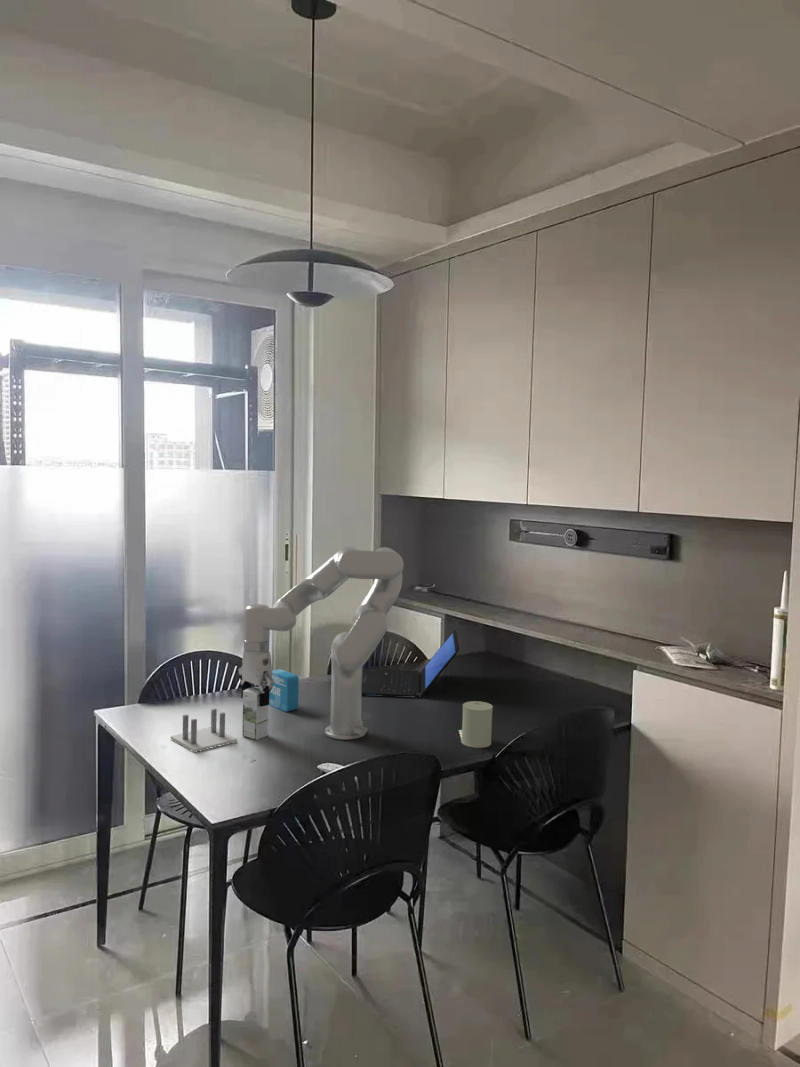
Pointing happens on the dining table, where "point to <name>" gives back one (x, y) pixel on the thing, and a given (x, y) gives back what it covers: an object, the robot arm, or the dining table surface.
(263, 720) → the syrup box
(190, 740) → the peg stand
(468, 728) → the can
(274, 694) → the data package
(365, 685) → the laptop
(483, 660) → the dining table surface
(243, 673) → the robot arm
